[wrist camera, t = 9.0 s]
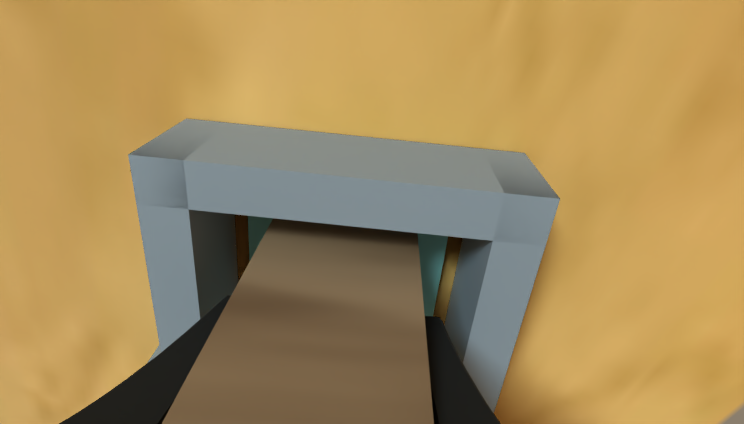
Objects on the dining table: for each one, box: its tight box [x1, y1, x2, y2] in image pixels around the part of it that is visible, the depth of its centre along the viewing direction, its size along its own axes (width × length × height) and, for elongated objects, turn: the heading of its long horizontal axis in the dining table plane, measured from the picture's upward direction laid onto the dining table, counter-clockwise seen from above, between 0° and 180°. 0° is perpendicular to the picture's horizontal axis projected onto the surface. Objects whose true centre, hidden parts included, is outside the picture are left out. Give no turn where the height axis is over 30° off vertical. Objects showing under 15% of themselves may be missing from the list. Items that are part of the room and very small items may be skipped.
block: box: [162, 218, 434, 424], centre depth 10 cm, size 4×4×7 cm
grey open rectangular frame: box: [128, 119, 560, 413], centre depth 15 cm, size 18×11×3 cm, turn 175°
